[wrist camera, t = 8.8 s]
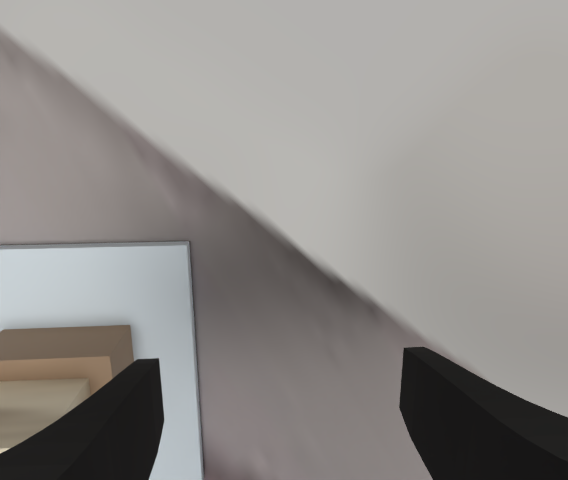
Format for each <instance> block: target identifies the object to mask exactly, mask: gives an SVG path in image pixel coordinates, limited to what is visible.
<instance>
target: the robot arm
mask: <svg viewBox="0 0 568 480" xmlns="http://www.w3.org/2000/svg"><path fill="white" fill-rule="evenodd" d="M399 408H400V411H401V413H402V416H403V419H404V422H405V424H406V427H407V429H408V432H409V434H410V437H411V439H412V441H413V443H414V445H415V447H416V449H417V451H418V453H419V454H420V456H421V458H422V460H423V462H424V464H425V466H426V467H427V469H428V471H429V473H430V475H431V477H432V478H433V480H568V417H565V416H562V415H560V414H557V413H555V412H552V411H550V410H547V409H545V408H543V407H540V406H538V405H535V404H533V403H531V402H529V401H526V400H524V399H522V398H520V397H518V396H516V395H513V394H512V393H510V392H508V391H506V390H504V389H501V388H500V387H497V386H496V385H494V384H492V383H490V382H488V381H486V380H484V379H482V378H480V377H479V376H477V375H475V374H473V373H471V372H470V371H468V370H466V369H464V368H462V367H461V366H459V365H457V364H455V363H454V362H452V361H450V360H448V359H447V358H445V357H443V356H441V355H439V354H437V353H436V352H434V351H432V350H430V349H427V348H425V347H411V348H404V352H403V366H402V379H401V393H400V406H399ZM163 425H164V409H163V398H162V386H161V375H160V363H159V358H152V359H137V360H135V361H134V362H133V363H131V364H130V365H129V366H127V367H126V368H125V369H124V370H123V371H121V372H120V373H119V374H118V375H116V376H115V377H114V378H113V379H111V380H110V381H109V382H108V383H106V384H105V385H104V386H103V387H101V388H100V389H99V390H98V391H96V392H95V393H94V394H93V395H91V396H90V397H89V398H87V399H86V400H84V401H83V402H82V403H80V404H79V405H78V406H76V407H75V408H73V409H72V410H71V411H69V412H68V413H66V414H65V415H64V416H62V417H61V418H59V419H58V420H56V421H55V422H53V423H52V424H50V425H49V426H47V427H46V428H44V429H43V430H41V431H39V432H38V433H36V434H34V435H33V436H31V437H29V438H28V439H26V440H24V441H23V442H21V443H19V444H17V445H16V446H14V447H12V448H10V449H8V450H6V451H4V452H2V453H0V480H149V477H150V474H151V472H152V469H153V466H154V463H155V460H156V457H157V454H158V449H159V444H160V440H161V435H162V430H163Z"/></svg>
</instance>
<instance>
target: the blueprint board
mask: <svg viewBox="0 0 568 480" xmlns="http://www.w3.org/2000/svg"><path fill="white" fill-rule="evenodd" d="M152 358H159V363H160V375H161V386H162V398H163V409H164V425H163V430H162V435H161V440H160V444H159V449H158V454H157V457H156V460H155V463H154V466H153V469H152V472H151V474H150V477H149V480H203V478H204V470H203V454H202V438H201V422H200V406H199V390H198V374H197V358H196V342H195V326H194V310H193V294H192V278H191V262H190V246H189V241H174V242H129V243H84V244H40V245H0V381H27V380H54V379H81V378H89V386H90V394H91V395H93V394H94V393H95V392H96V391H98V390H99V389H100V388H101V387H103V386H104V385H105V384H106V383H108V382H109V381H110V380H111V379H113V378H114V377H115V376H116V375H118V374H119V373H120V372H121V371H123V370H124V369H125V368H126V367H127V366H129V365H130V364H131V363H133V362H134V361H135V360H137V359H152Z"/></svg>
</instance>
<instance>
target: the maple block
mask: <svg viewBox="0 0 568 480" xmlns="http://www.w3.org/2000/svg"><path fill="white" fill-rule="evenodd" d="M90 396H91V394H90V386H89V378H81V379H54V380H27V381H0V453H2V452H4V451H6V450H8V449H10V448H12V447H14V446H16V445H17V444H19V443H21V442H23V441H24V440H26V439H28V438H29V437H31V436H33V435H34V434H36V433H38V432H39V431H41V430H43V429H44V428H46V427H47V426H49V425H50V424H52V423H53V422H55V421H56V420H58V419H59V418H61V417H62V416H64V415H65V414H66V413H68V412H69V411H71V410H72V409H73V408H75V407H76V406H78V405H79V404H80V403H82V402H83V401H84V400H86V399H87V398H89V397H90Z"/></svg>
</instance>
